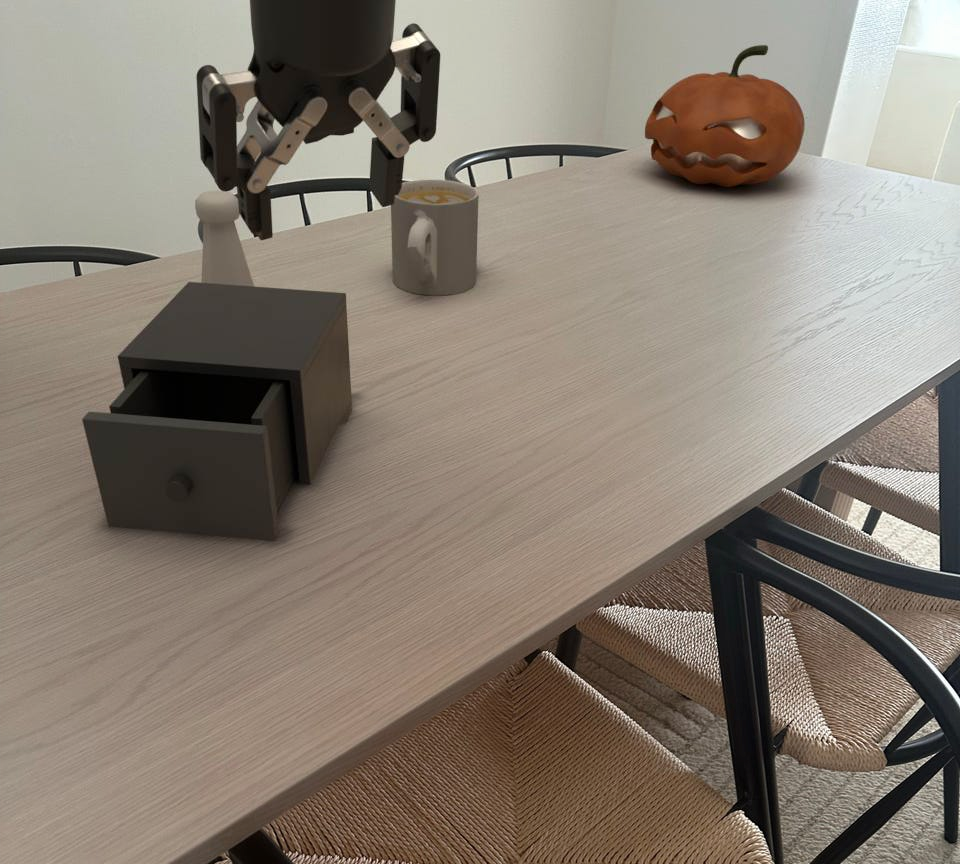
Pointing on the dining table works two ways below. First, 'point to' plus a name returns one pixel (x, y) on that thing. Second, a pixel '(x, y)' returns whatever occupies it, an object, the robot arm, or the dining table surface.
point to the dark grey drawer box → (258, 351)
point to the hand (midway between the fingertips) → (321, 214)
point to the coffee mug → (434, 237)
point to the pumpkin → (726, 127)
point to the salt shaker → (221, 240)
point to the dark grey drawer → (195, 454)
